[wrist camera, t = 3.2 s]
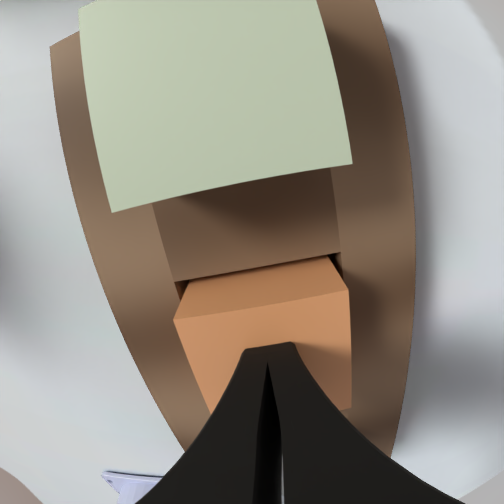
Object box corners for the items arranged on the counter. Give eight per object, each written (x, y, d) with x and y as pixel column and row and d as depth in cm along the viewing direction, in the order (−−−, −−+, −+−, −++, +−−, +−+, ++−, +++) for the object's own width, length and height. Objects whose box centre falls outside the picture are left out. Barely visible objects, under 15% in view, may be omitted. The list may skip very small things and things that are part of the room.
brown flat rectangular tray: (377, 436, 15) (388, 466, 13) (216, 461, 16) (213, 493, 14) (344, 3, 8) (364, -26, 6) (84, 60, 9) (49, 46, 7)
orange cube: (328, 339, 13) (351, 408, 9) (225, 356, 13) (217, 428, 9) (317, 240, 11) (348, 289, 7) (197, 262, 11) (173, 319, 8)
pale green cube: (311, 155, 9) (352, 163, 5) (166, 184, 9) (111, 212, 5) (282, 20, 7) (299, -48, 4) (140, 52, 8) (78, 9, 4)
